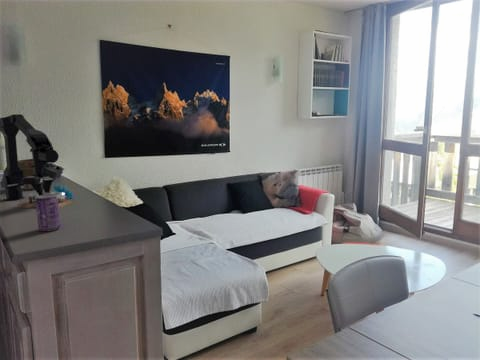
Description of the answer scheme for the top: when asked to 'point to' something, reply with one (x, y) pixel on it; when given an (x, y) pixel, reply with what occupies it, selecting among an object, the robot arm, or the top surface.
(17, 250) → the top surface
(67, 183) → the top surface
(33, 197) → the ball knob lever
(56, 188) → the gear
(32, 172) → the plant pot
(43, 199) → the beverage can
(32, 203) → the peg rack
